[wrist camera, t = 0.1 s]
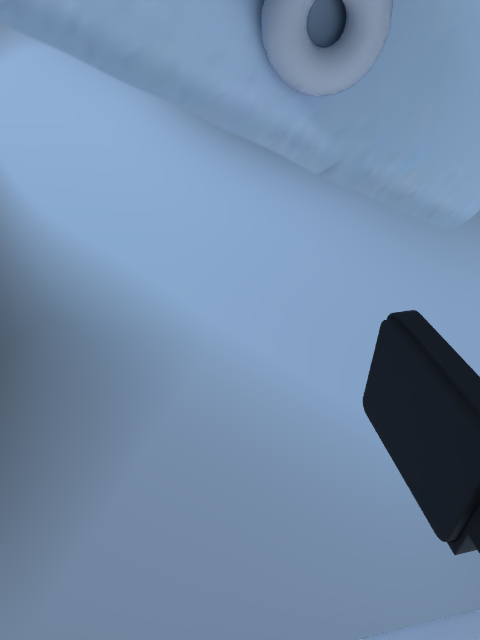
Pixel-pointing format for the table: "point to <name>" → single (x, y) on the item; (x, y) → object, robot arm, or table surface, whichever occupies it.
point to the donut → (323, 63)
